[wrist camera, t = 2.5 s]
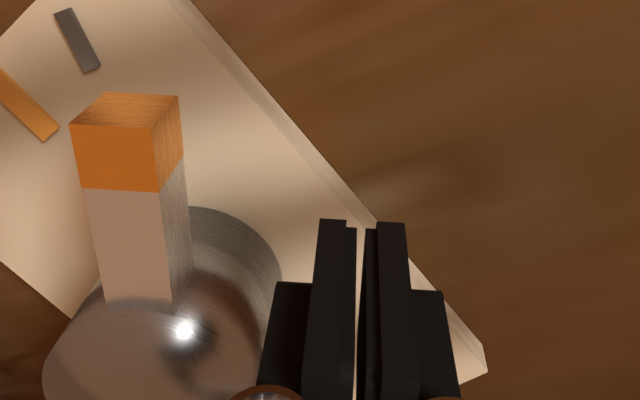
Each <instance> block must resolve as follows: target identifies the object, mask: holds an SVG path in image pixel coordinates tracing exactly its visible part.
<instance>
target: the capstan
mask: <svg viewBox="0 0 640 400" xmlns="http://www.w3.org/2000/svg"><path fill="white" fill-rule="evenodd" d="M68 125H69V130H70V135H71V140H72V145H73V150H74V155H75V160H76V165H77V169H78V174H79V179H80V184H81V188H83V193H84V198H85V203H86V207H87V212H88V217H89V222H90V227H91V232H92V237H93V242H94V247H95V252H96V257H97V262H98V267H99V272H100V277H99V279H98V280H97V282H96V283H95V285H94V286H93V288H92V289H91V291H90V292H89V294H88V295H87V297H86V298H85V300H84V301H83V303H82V304H81V306H80V307H79V309H78V310H77V312H76V313H75V315H74V316H73V318H72V319H71V321H70V323H69V324H68V326H67V327H66V329H65V330H64V332H63V333H62V335H61V336H60V338H59V339H58V341H57V342H56V344H55V345H54V347H53V348H52V350H51V351H50V353H49V354H48V356H47V358H46V360H45V363H44V365H43V370H42V388H43V392H44V396H45V398H46V400H230V399H231V398H232V397H233V396H234V395H236V394H237V393H238V392H241V391H243V390H245V389H247V388H249V387H253V386H256V381H257V376H258V371H259V366H260V361H261V356H262V351H263V346H264V341H265V336H266V331H267V326H268V321H269V316H270V311H271V305H272V300H273V295H274V290H275V286H276V283H277V281H282V274H281V270H280V266H279V263H278V261H277V258H276V256H275V254H274V253H273V251H272V249H271V248H270V246H269V245H268V244H267V242H266V241H265V240H264V239H263V238H262V237H261V236H260V235H259V234H258V233H257V232H256V231H255V230H253V229H252V228H251V227H250V226H248V225H247V224H245V223H244V222H242V221H240V220H239V219H237V218H235V217H233V216H231V215H229V214H226V213H223V212H220V211H218V210H214V209H209V208H205V207H197V206H188V199H187V189H186V179H185V169H184V159H183V155H184V149H183V139H182V129H181V119H180V109H179V99H178V96H175V95H157V94H139V93H121V92H104V93H103V94H102V95H101V96H100V97H99V98H97V99H96V100H95V101H94V102H93V103H92V104H90V105H89V106H88V107H87V108H86V109H85V110H84V111H82V112H81V113H80V114H79V115H78V116H77V117H75V118H74V119H73V120H72V121H71V122H70V123H69V124H68Z"/></svg>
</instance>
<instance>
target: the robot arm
mask: <svg viewBox="0 0 640 400" xmlns="http://www.w3.org/2000/svg"><path fill="white" fill-rule="evenodd" d="M346 223H347V220H343V219H325V218H320V220H319V228H318V236H317V245H316V254H315V262H314V271H313V279H312V283H303V282H287V281H277V283H276V286H275V290H274V295H273V300H272V305H271V311H270V316H269V321H268V326H267V331H266V336H265V341H264V346H263V351H262V356H261V361H260V366H259V371H258V376H257V381H256V386H253V387H249V388H247V389H245V390H243V391H241V392H238V393H237V394H236V395H234V396H233V397H232V398H231V399H230V400H353V388H354V368H355V317H356V260H357V228H356V227H346ZM356 400H463V399H461V394H460V388H459V383H458V377H457V371H456V365H455V360H454V354H453V348H452V342H451V337H450V331H449V325H448V319H447V314H446V308H445V302H444V297H443V293H442V292H441V291H435V290H418V289H411V280H410V270H409V261H408V251H407V242H406V232H405V224H404V223H396V222H378V221H377V222H376V229H374V228H366V229H365V240H364V252H363V265H362V277H361V290H360V303H359V315H358V328H357V357H356Z"/></svg>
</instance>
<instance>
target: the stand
mask: <svg viewBox="0 0 640 400" xmlns="http://www.w3.org/2000/svg"><path fill="white" fill-rule="evenodd" d="M104 92H121V93H139V94H157V95H175V96H178V99H179V109H180V119H181V129H182V139H183V149H184V155H183V159H184V169H185V179H186V189H187V199H188V206H197V207H205V208H209V209H214V210H218V211H220V212H223V213H226V214H229V215H231V216H233V217H235V218H237V219H239V220H240V221H242V222H244V223H245V224H247V225H248V226H250V227H251V228H252V229H253V230H255V231H256V232H257V233H258V234H259V235H260V236H261V237H262V238H263V239H264V240H265V241H266V242H267V244H268V245H269V246H270V248H271V249H272V251H273V253H274V254H275V256H276V258H277V261H278V263H279V266H280V270H281V274H282V281H287V282H303V283H312V279H313V271H314V262H315V254H316V245H317V236H318V228H319V220H320V218H325V219H343V220H347V223H346V227H356V228H357V260H356V317H355V368H354V388H353V400H356V357H357V328H358V315H359V303H360V290H361V277H362V265H363V252H364V240H365V229H366V228H374V229H376V222H377V220H376V219H375V218H374V216H373V215H372V214H371V213H370V212H369V211H368V209H367V208H366V207H365V206H364V205H363V204H362V202H361V201H360V200H359V199H358V198H357V196H356V195H355V194H354V193H353V192H352V191H351V189H350V188H349V187H348V186H347V185H346V184H345V182H344V181H343V180H342V179H341V178H340V176H339V175H338V174H337V173H336V172H335V171H334V169H333V168H332V167H331V166H330V165H329V163H328V162H327V161H326V160H325V159H324V158H323V156H322V155H321V154H320V153H319V152H318V151H317V149H316V148H315V147H314V146H313V145H312V143H311V142H310V141H309V140H308V139H307V138H306V136H305V135H304V134H303V133H302V132H301V130H300V129H299V128H298V127H297V126H296V125H295V123H294V122H293V121H292V120H291V119H290V118H289V116H288V115H287V114H286V113H285V112H284V110H283V109H282V108H281V107H280V106H279V105H278V103H277V102H276V101H275V100H274V99H273V97H272V96H271V95H270V94H269V93H268V92H267V90H266V89H265V88H264V87H263V86H262V85H261V83H260V82H259V81H258V80H257V79H256V77H255V76H254V75H253V74H252V73H251V72H250V70H249V69H248V68H247V67H246V66H245V64H244V63H243V62H242V61H241V60H240V59H239V57H238V56H237V55H236V54H235V53H234V52H233V50H232V49H231V48H230V47H229V46H228V44H227V43H226V42H225V41H224V40H223V39H222V37H221V36H220V35H219V34H218V33H217V31H216V30H215V29H214V28H213V27H212V26H211V24H210V23H209V22H208V21H207V20H206V19H205V17H204V16H203V15H202V14H201V13H200V11H199V10H198V9H197V8H196V7H195V6H194V4H193V3H192V2H191V1H190V0H36V1H35V2H34V3H33V4H32V5H31V6H30V7H29V8H28V9H27V10H26V11H25V12H24V13H23V14H22V15H21V16H20V17H19V18H18V19H17V20H16V21H15V22H14V23H13V25H12V26H11V27H10V28H9V29H8V30H7V31H6V32H5V33H4V34H3V35H2V36H1V37H0V261H1V262H2V263H4V264H5V265H6V266H7V267H8V268H10V269H11V270H12V271H13V272H14V273H16V274H17V275H18V276H19V277H21V278H22V279H23V280H24V281H25V282H27V283H28V284H29V285H30V286H31V287H33V288H34V289H35V290H36V291H38V292H39V293H40V294H41V295H42V296H44V297H45V298H46V299H47V300H48V301H50V302H51V303H52V304H53V305H55V306H56V307H57V308H58V309H59V310H61V311H62V312H63V313H64V314H65V315H67V316H68V317H69V318H70V319H72V318H73V316H74V315H75V313H76V312H77V310H78V309H79V307H80V306H81V304H82V303H83V301H84V300H85V298H86V297H87V295H88V294H89V292H90V291H91V289H92V288H93V286H94V285H95V283H96V282H97V280H98V279H99V277H100V272H99V267H98V262H97V257H96V252H95V247H94V242H93V237H92V232H91V227H90V222H89V217H88V212H87V207H86V203H85V198H84V193H83V188H81V184H80V179H79V174H78V169H77V165H76V160H75V155H74V150H73V145H72V140H71V135H70V130H69V125H68V124H69V123H70V122H71V121H72V120H73V119H74V118H75V117H77V116H78V115H79V114H80V113H81V112H82V111H84V110H85V109H86V108H87V107H88V106H89V105H90V104H92V103H93V102H94V101H95V100H96V99H97V98H99V97H100V96H101V95H102V94H103V93H104ZM408 261H409V270H410V280H411V289H418V290H435V288H434V287H433V286H432V285H431V284H430V282H429V281H428V280H427V279H426V278H425V277H424V275H423V274H422V273H421V272H420V271H419V270H418V268H417V267H416V266H415V265H414V264H413V262H412V261H411V260H410V259H409V258H408ZM435 291H436V290H435ZM444 302H445V308H446V314H447V319H448V325H449V331H450V337H451V342H452V348H453V354H454V360H455V365H456V371H457V377H458V383H459V385H460V384H462V383H464V382H466V381H469V380H471V379H473V378H475V377H478V376H480V375H482V374H484V373H487V372H488V370H487V365H486V360H485V356H484V351H483V346H482V344H481V343H480V341H479V340H478V339H477V338H476V337H475V336H474V334H473V333H472V332H471V331H470V330H469V328H468V327H467V326H466V325H465V324H464V323H463V321H462V320H461V319H460V318H459V317H458V315H457V314H456V313H455V312H454V311H453V310H452V308H451V307H450V306H449V305H448V304H447V303H446V301H445V300H444Z"/></svg>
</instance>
